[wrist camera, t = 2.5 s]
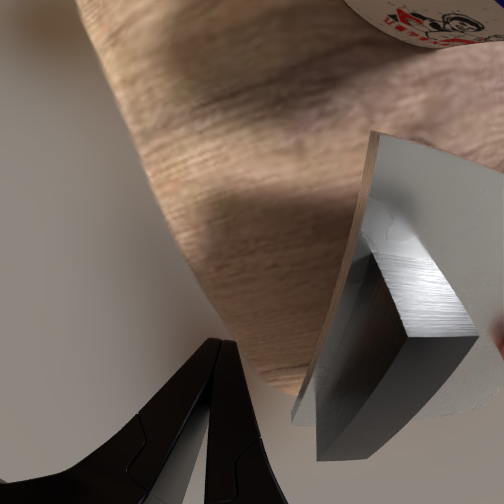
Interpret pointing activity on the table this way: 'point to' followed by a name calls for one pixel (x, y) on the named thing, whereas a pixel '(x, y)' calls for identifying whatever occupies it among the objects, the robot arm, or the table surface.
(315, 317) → the table surface
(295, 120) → the table surface
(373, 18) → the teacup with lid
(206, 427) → the robot arm
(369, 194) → the box lid
